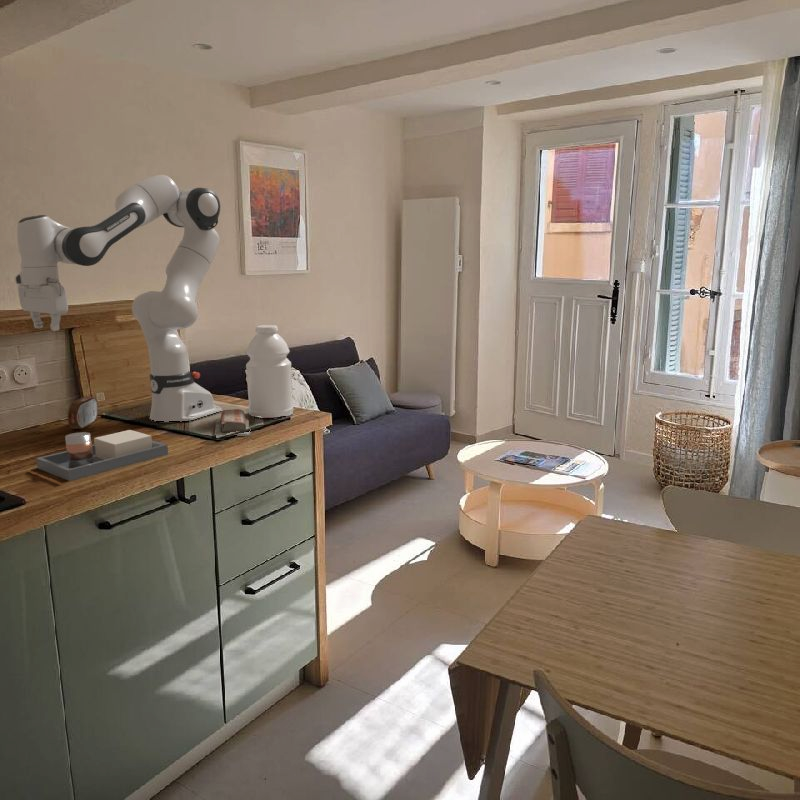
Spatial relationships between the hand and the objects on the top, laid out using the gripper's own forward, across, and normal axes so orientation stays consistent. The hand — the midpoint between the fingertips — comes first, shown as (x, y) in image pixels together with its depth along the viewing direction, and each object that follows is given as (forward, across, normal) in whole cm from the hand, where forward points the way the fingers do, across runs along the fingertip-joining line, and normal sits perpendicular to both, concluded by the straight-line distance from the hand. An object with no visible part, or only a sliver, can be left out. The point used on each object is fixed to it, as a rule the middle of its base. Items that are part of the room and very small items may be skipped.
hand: (46, 329), depth 197 cm
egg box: (+31, -31, -2) cm, 44 cm away
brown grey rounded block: (+31, +9, -12) cm, 35 cm away
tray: (+31, -31, +4) cm, 44 cm away
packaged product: (+32, -31, -36) cm, 57 cm away
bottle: (+31, -26, -55) cm, 68 cm away
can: (+31, -31, +10) cm, 45 cm away
